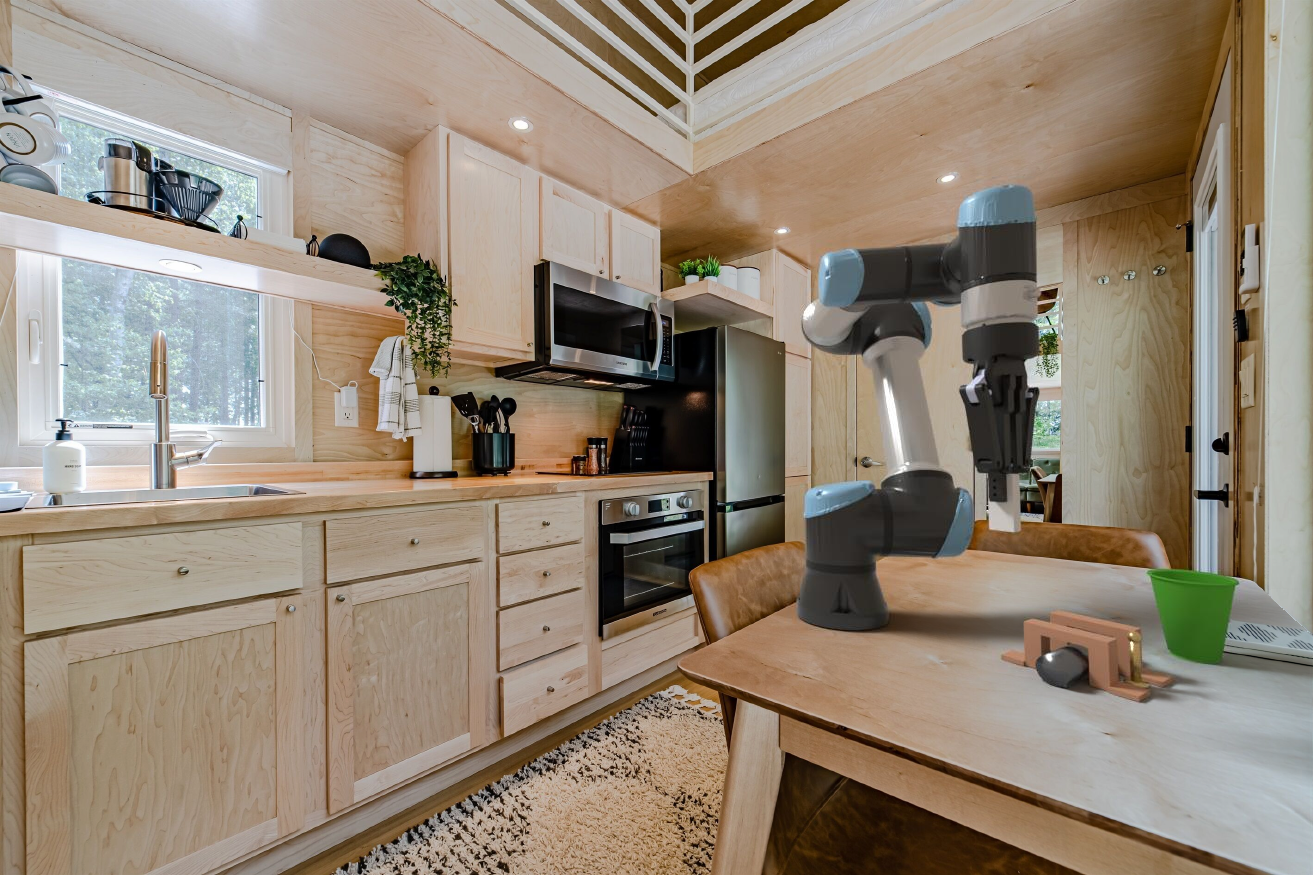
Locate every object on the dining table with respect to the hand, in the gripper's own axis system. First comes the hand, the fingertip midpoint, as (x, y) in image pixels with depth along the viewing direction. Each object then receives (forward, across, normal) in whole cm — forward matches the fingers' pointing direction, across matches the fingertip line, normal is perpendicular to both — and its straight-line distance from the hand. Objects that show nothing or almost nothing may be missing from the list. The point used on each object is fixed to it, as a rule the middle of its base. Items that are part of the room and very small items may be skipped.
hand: (1004, 529), depth 62 cm
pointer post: (+20, +17, -6) cm, 27 cm away
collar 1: (+20, +14, 0) cm, 24 cm away
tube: (+20, +17, 0) cm, 26 cm away
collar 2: (+20, +21, 0) cm, 29 cm away
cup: (+20, +35, -6) cm, 41 cm away
